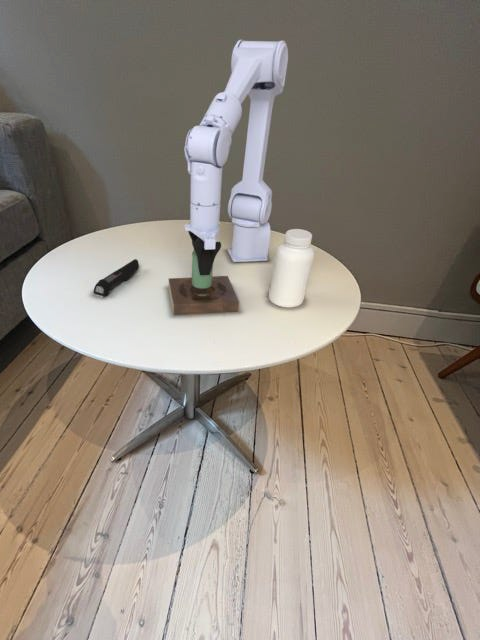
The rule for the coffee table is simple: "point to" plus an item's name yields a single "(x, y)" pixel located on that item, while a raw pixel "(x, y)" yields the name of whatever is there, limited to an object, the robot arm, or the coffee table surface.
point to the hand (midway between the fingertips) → (202, 269)
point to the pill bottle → (292, 269)
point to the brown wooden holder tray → (215, 302)
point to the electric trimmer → (115, 278)
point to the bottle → (198, 279)
